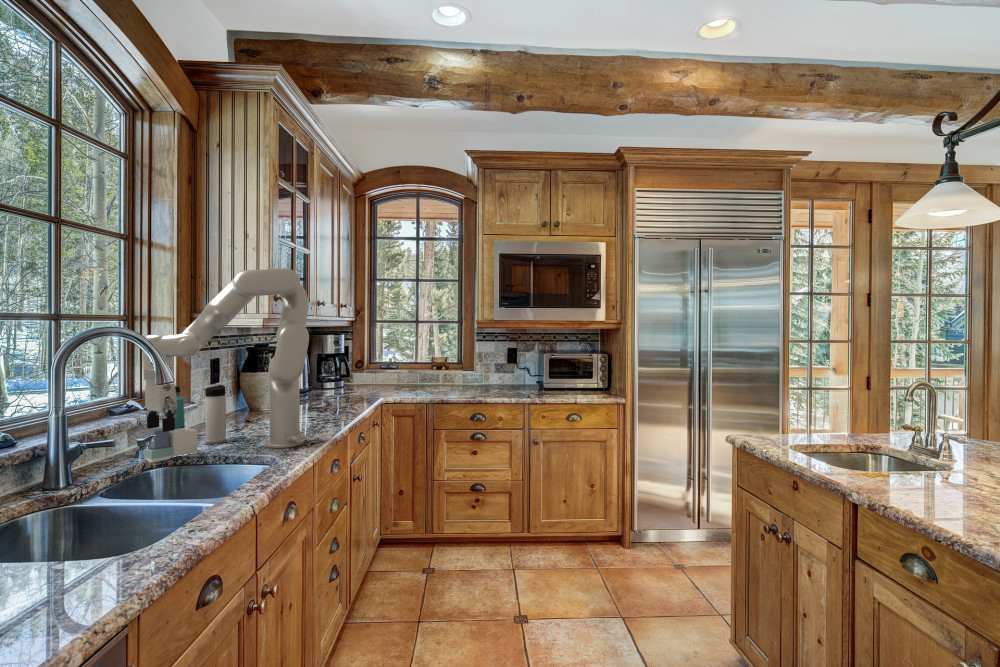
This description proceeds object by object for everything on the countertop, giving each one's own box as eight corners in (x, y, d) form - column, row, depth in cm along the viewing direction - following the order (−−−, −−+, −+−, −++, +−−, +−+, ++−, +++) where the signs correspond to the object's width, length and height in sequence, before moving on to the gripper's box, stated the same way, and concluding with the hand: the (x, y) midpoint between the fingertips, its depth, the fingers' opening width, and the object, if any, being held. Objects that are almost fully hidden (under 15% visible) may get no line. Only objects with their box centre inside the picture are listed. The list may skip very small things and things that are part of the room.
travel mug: (230, 440, 173) (230, 385, 173) (218, 445, 166) (217, 387, 166) (214, 440, 174) (213, 384, 173) (201, 444, 167) (200, 387, 167)
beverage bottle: (182, 444, 168) (182, 387, 167) (160, 446, 165) (159, 387, 165) (187, 440, 174) (186, 385, 173) (165, 442, 171) (164, 385, 171)
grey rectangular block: (169, 454, 150) (168, 429, 150) (154, 457, 147) (154, 431, 146) (162, 453, 152) (162, 427, 152) (148, 456, 149) (147, 430, 149)
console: (197, 453, 156) (197, 430, 156) (151, 462, 145) (151, 437, 145) (186, 450, 159) (186, 427, 159) (141, 459, 148) (140, 435, 148)
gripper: (186, 374, 148) (188, 429, 148) (158, 372, 157) (160, 424, 157) (158, 376, 141) (161, 434, 142) (131, 374, 150) (133, 429, 151)
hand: (160, 429), depth 150 cm, fingers open, 9 cm apart
